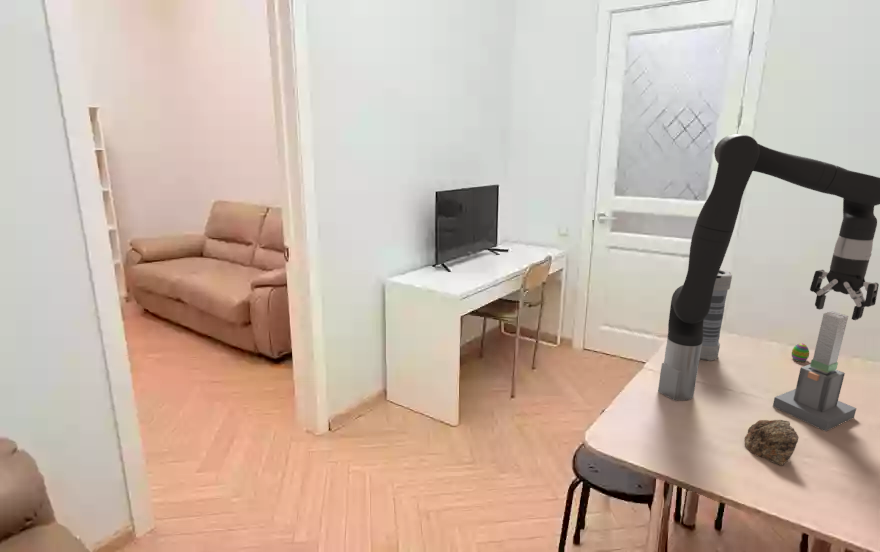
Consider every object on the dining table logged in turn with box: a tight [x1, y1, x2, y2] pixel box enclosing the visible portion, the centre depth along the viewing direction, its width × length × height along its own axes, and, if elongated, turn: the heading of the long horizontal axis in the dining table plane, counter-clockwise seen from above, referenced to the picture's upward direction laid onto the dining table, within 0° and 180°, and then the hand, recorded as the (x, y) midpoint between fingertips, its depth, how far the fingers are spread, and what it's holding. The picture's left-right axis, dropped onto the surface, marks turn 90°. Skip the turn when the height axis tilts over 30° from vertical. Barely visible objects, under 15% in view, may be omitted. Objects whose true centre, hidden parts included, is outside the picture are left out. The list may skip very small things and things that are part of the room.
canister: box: [699, 268, 733, 361], centre depth 180 cm, size 10×10×30 cm
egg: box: [791, 342, 810, 363], centre depth 180 cm, size 5×5×6 cm
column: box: [810, 311, 849, 376], centre depth 144 cm, size 4×4×20 cm
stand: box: [772, 363, 857, 432], centre depth 147 cm, size 14×14×13 cm
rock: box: [744, 419, 799, 466], centre depth 132 cm, size 14×9×10 cm
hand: (836, 314), depth 140 cm, fingers open, 8 cm apart
